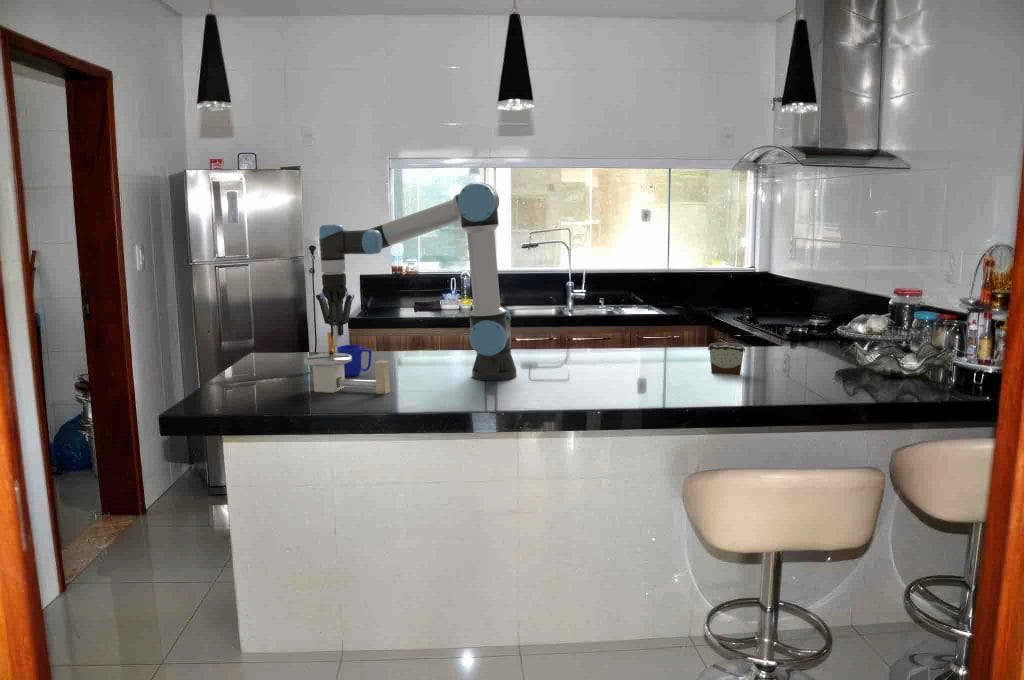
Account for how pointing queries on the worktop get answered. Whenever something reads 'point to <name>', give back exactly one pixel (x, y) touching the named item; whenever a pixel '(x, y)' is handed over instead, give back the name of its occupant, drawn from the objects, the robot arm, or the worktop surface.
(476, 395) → the worktop surface
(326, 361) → the handwheel
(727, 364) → the food container
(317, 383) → the eye block
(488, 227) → the robot arm
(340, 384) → the hook rod
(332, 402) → the worktop surface
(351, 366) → the mug
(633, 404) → the worktop surface
